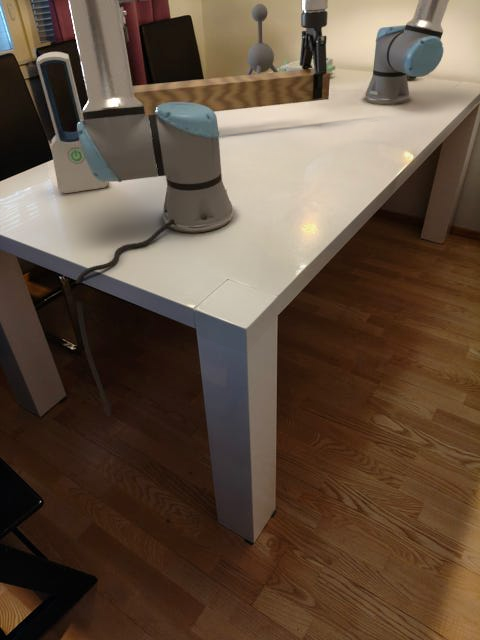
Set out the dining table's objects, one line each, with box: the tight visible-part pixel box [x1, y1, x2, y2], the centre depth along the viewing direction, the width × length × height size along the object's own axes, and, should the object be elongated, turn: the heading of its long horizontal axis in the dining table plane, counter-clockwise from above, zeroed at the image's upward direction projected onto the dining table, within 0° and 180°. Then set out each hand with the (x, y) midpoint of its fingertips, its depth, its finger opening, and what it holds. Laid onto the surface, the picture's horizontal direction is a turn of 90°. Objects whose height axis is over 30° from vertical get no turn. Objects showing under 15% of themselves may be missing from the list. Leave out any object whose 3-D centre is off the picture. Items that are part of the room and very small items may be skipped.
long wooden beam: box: [132, 69, 331, 117], centre depth 147 cm, size 66×8×7 cm, turn 104°
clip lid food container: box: [277, 56, 336, 75], centre depth 206 cm, size 26×6×20 cm
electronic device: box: [35, 51, 110, 194], centre depth 116 cm, size 12×8×30 cm, turn 105°
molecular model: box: [246, 3, 278, 75], centre depth 180 cm, size 24×22×30 cm
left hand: (128, 114), depth 145 cm, fingers closed on long wooden beam, 9 cm apart
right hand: (311, 94), depth 154 cm, fingers closed on long wooden beam, 9 cm apart
